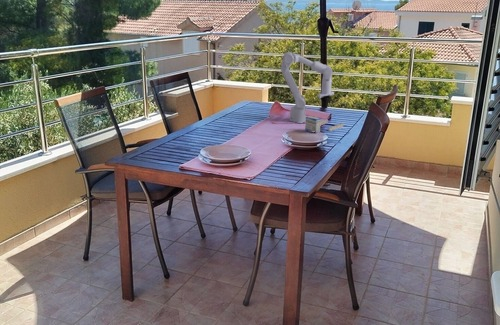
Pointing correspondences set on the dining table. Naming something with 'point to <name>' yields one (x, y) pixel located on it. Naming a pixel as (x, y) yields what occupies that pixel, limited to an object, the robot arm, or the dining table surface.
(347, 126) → the dining table surface
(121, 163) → the dining table surface
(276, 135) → the dining table surface
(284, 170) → the dining table surface
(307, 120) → the medicine box
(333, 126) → the parallel bars
